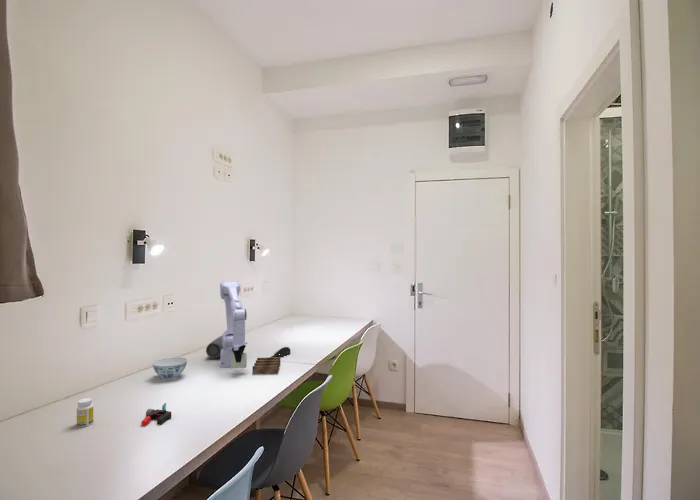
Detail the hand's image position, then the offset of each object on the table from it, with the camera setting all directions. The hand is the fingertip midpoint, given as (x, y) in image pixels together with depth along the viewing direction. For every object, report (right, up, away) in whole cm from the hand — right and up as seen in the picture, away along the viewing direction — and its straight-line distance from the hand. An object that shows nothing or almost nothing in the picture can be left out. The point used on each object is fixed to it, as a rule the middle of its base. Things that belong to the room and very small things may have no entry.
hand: (238, 361), depth 189 cm
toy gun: (-16, -6, -52) cm, 55 cm away
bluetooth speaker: (-20, -6, +33) cm, 39 cm away
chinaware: (-30, -6, -7) cm, 32 cm away
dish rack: (+13, -6, +6) cm, 15 cm away
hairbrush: (+14, -7, +28) cm, 32 cm away
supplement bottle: (-37, -6, -56) cm, 67 cm away
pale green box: (0, -3, 0) cm, 3 cm away
